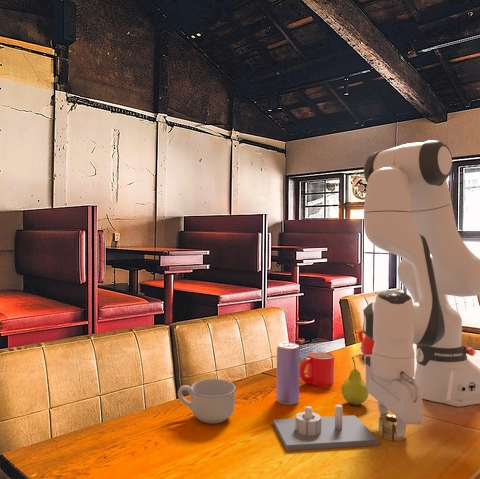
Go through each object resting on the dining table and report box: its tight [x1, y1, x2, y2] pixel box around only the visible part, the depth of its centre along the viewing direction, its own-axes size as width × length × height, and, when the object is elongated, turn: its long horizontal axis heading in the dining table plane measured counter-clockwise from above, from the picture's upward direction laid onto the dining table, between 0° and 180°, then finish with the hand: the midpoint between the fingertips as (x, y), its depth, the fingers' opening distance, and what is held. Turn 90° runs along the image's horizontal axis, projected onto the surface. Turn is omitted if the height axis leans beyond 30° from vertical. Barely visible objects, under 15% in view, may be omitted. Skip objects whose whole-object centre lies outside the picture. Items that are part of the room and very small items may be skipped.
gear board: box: [272, 404, 380, 452], centre depth 105 cm, size 20×13×6 cm, turn 98°
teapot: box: [357, 329, 375, 356], centre depth 166 cm, size 25×16×12 cm, turn 32°
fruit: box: [340, 356, 369, 406], centre depth 123 cm, size 7×7×12 cm
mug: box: [299, 351, 335, 387], centre depth 141 cm, size 8×12×8 cm, turn 125°
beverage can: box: [275, 342, 301, 406], centre depth 125 cm, size 6×6×15 cm
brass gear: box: [378, 414, 407, 442], centre depth 105 cm, size 5×5×4 cm
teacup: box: [177, 378, 237, 425], centre depth 114 cm, size 14×11×8 cm
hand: (391, 427), depth 105 cm, fingers closed on brass gear, 5 cm apart
